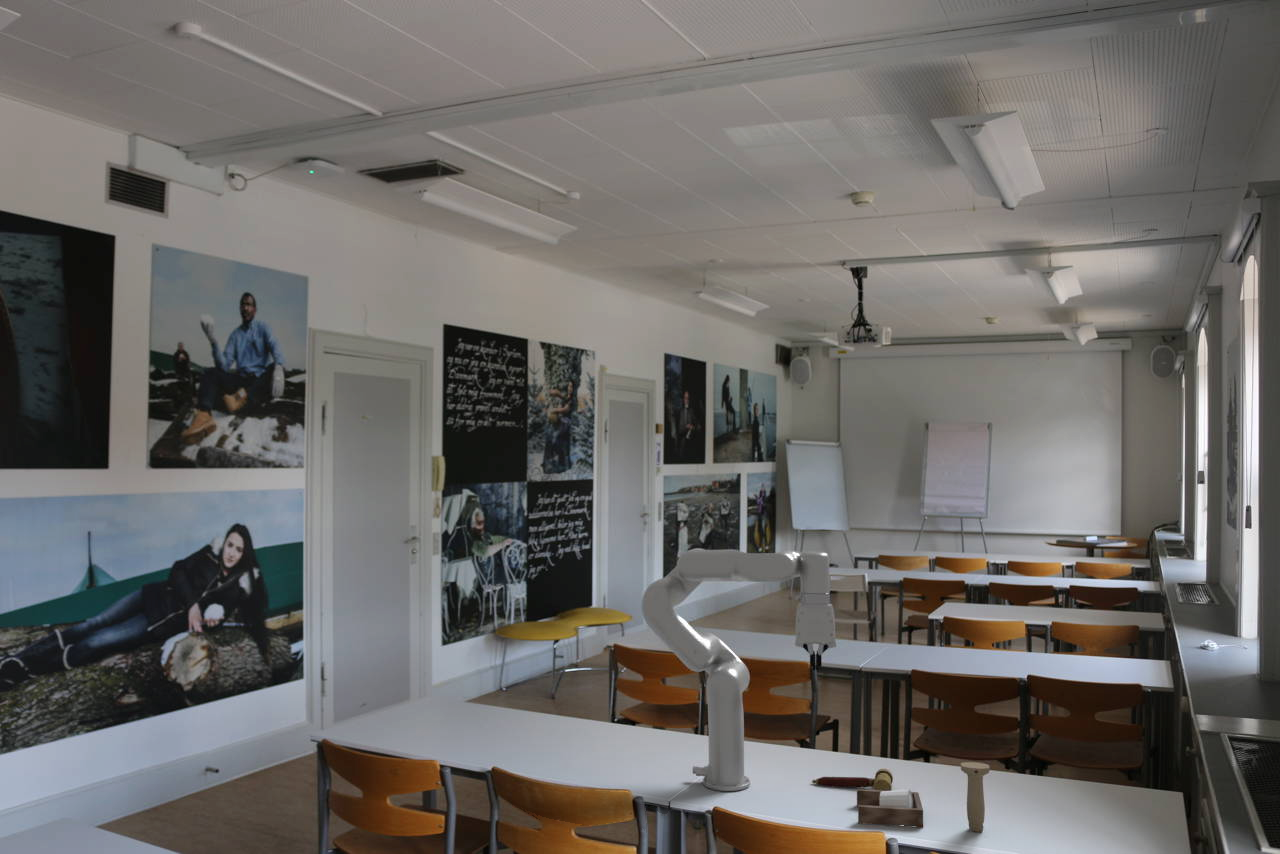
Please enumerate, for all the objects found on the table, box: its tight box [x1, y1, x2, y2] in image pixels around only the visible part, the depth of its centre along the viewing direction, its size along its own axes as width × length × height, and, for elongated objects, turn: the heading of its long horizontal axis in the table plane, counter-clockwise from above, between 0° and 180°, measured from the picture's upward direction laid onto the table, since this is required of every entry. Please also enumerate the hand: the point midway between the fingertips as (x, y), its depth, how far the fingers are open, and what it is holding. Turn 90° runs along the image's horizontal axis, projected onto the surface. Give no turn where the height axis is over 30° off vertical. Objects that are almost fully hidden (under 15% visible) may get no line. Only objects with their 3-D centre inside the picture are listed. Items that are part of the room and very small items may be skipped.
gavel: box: [811, 768, 894, 791], centre depth 265 cm, size 21×5×10 cm
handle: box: [960, 761, 991, 833], centre depth 234 cm, size 5×6×15 cm
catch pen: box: [856, 788, 924, 828], centre depth 244 cm, size 15×13×4 cm
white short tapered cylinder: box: [879, 789, 914, 808], centre depth 243 cm, size 7×7×7 cm
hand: (815, 669), depth 262 cm, fingers closed
